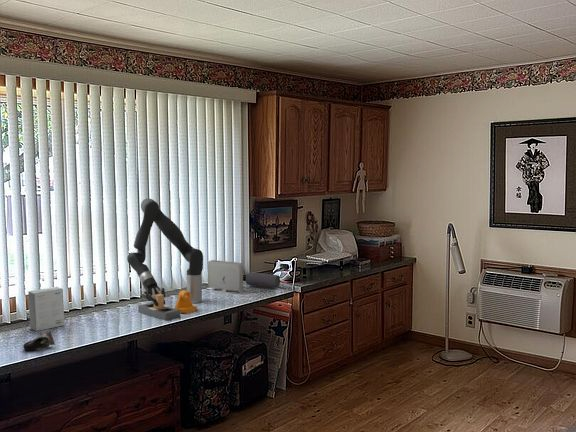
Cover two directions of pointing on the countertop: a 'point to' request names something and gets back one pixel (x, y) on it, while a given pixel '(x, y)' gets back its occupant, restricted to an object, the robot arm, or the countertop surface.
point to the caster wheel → (40, 342)
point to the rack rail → (159, 311)
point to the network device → (225, 276)
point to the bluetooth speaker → (263, 280)
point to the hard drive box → (46, 308)
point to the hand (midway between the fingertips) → (160, 304)
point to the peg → (159, 301)
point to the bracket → (185, 302)
